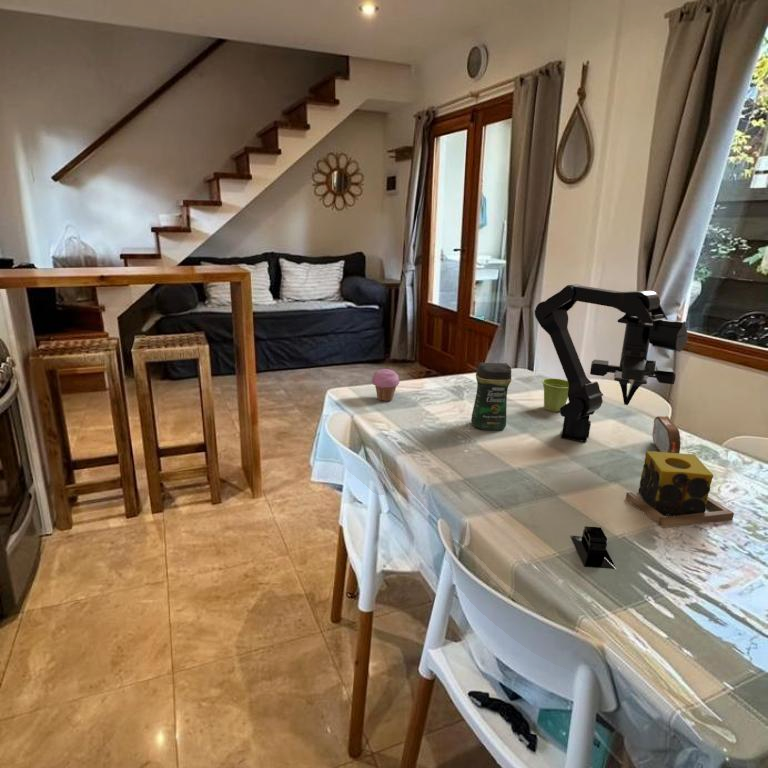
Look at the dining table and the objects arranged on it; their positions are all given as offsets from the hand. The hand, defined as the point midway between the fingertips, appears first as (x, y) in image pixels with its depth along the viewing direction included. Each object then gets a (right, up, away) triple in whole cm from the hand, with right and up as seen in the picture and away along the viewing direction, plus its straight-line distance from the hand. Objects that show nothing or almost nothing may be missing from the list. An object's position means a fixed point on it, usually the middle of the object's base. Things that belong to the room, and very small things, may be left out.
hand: (625, 404), depth 133 cm
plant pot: (-7, -3, +34) cm, 35 cm away
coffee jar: (-31, -7, +19) cm, 37 cm away
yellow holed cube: (0, -21, -21) cm, 29 cm away
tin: (+12, -13, +6) cm, 18 cm away
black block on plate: (-23, -26, -38) cm, 51 cm away
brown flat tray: (0, -21, -23) cm, 31 cm away
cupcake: (-60, 0, +38) cm, 71 cm away
